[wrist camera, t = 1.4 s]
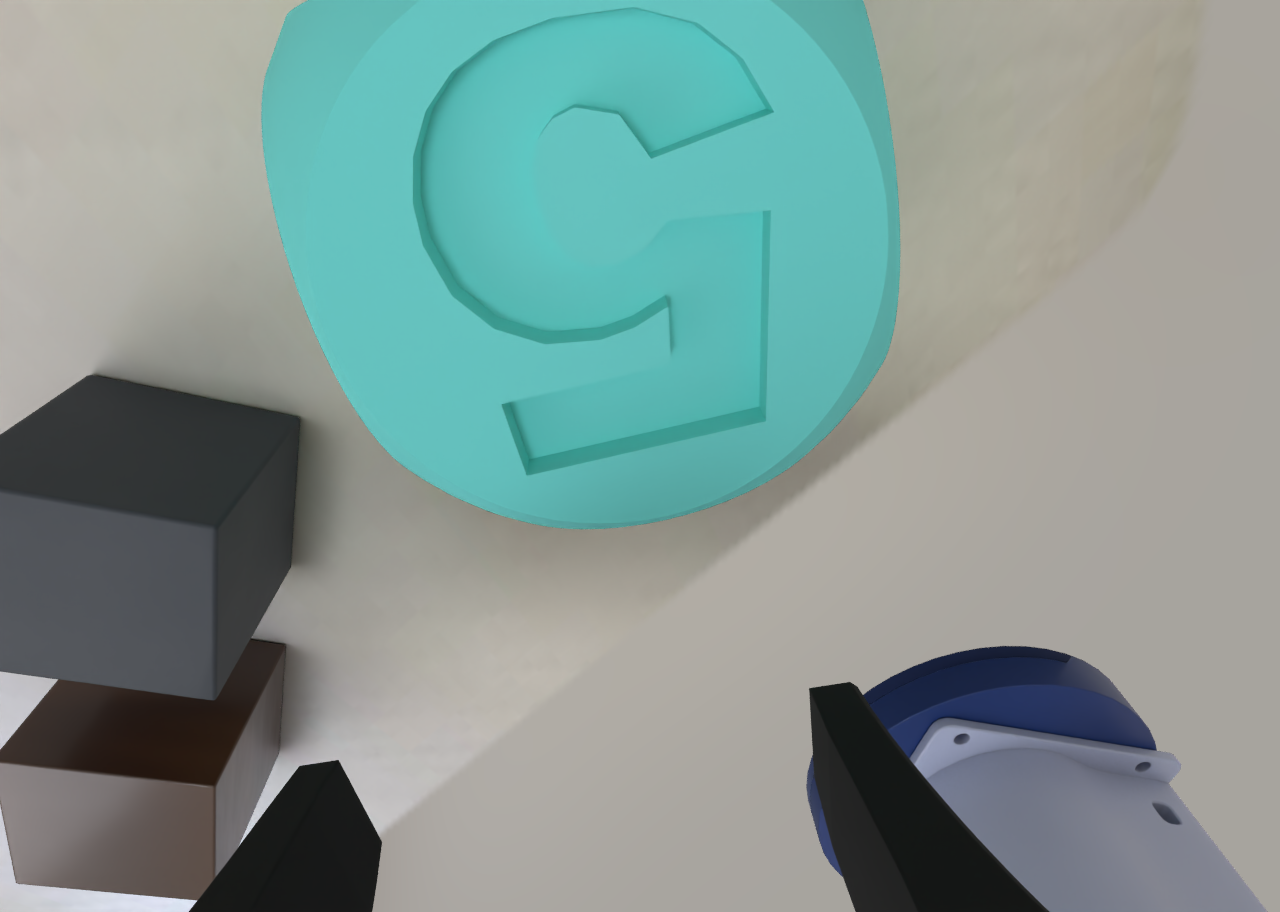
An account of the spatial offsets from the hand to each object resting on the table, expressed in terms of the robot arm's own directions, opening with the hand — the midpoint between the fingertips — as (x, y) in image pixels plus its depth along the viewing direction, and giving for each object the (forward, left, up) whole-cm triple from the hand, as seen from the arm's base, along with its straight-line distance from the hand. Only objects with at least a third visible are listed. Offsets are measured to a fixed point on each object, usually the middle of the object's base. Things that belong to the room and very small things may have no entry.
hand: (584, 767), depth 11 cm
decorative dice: (+1, -7, -10) cm, 12 cm away
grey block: (+10, +3, -10) cm, 14 cm away
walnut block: (+10, +11, -10) cm, 18 cm away
